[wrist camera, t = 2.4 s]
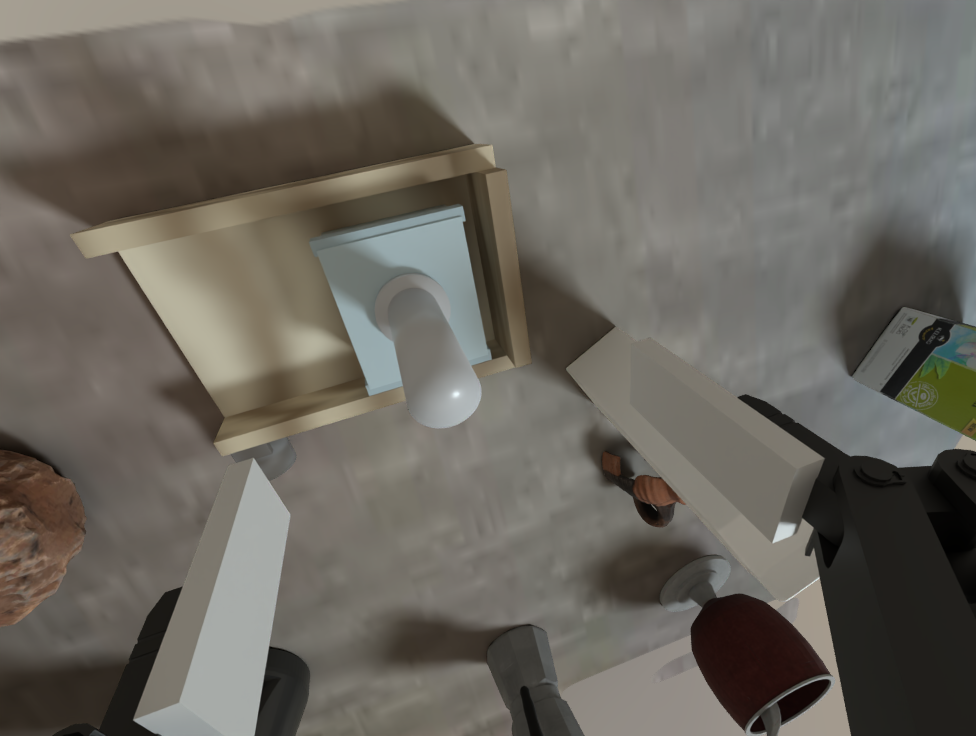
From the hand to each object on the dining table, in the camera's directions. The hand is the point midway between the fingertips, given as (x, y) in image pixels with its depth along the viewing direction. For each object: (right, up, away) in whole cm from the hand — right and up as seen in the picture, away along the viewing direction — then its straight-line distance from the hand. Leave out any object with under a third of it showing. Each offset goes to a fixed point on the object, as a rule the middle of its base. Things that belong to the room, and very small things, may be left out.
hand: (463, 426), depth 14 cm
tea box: (+53, +4, +38) cm, 66 cm away
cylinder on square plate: (-5, +8, +15) cm, 17 cm away
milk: (+12, +2, +25) cm, 28 cm away
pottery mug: (+18, -8, +33) cm, 38 cm away
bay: (-9, +6, +16) cm, 19 cm away
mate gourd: (+32, -31, +51) cm, 68 cm away
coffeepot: (+4, -36, +44) cm, 57 cm away
